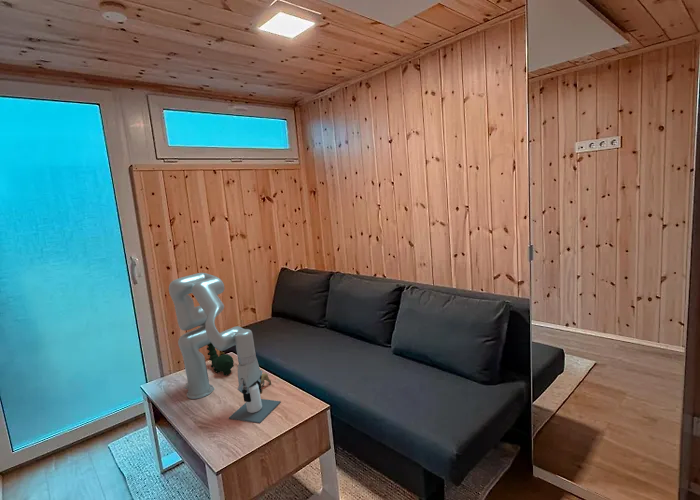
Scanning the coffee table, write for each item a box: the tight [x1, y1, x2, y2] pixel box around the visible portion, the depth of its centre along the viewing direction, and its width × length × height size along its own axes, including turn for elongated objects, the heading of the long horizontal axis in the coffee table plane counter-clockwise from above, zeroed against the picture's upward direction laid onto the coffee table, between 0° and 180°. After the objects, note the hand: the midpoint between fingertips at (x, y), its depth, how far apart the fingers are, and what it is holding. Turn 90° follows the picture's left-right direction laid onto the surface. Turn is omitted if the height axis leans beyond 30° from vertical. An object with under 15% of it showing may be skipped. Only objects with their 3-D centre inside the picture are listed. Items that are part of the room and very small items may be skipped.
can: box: [245, 382, 262, 413], centre depth 166 cm, size 6×6×12 cm
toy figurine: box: [206, 343, 235, 376], centre depth 210 cm, size 9×19×25 cm
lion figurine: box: [260, 372, 272, 395], centre depth 185 cm, size 15×5×9 cm, turn 168°
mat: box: [228, 398, 282, 424], centre depth 167 cm, size 16×16×1 cm
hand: (253, 396), depth 166 cm, fingers open, 7 cm apart
